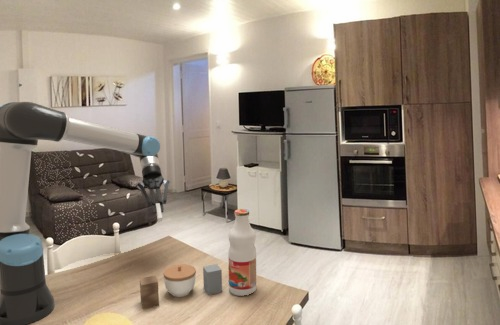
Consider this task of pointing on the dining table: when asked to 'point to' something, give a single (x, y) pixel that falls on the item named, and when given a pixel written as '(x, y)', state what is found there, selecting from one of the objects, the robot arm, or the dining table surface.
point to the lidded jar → (179, 279)
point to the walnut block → (149, 292)
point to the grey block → (212, 279)
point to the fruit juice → (242, 255)
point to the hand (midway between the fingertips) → (160, 219)
